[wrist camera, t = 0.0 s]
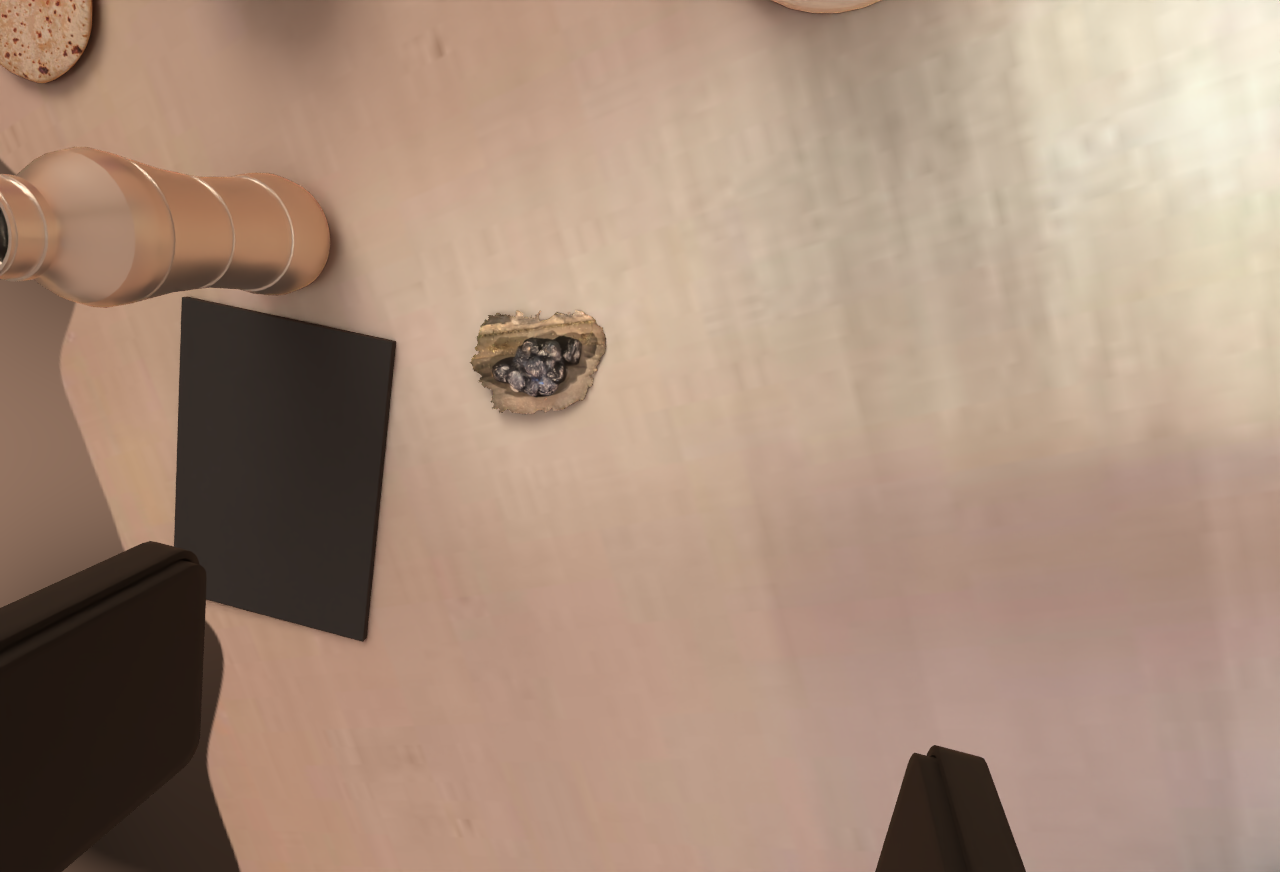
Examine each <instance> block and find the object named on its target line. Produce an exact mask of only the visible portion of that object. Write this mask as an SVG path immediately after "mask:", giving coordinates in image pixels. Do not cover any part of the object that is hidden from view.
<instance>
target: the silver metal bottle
mask: <svg viewBox="0 0 1280 872" xmlns="http://www.w3.org/2000/svg"><path fill="white" fill-rule="evenodd" d="M329 249H330V232H329V227H328V223H327V220H326V217H325V215H324V212H323V210H322V208H321V207H320V205H319V203H318V202H317V200H316V199H315V198H314V197H313V196H312V195H311V194H310V193H309V192H308V191H307V190H306V189H304V188H303V187H302V186H300V185H298V184H296V183H294V182H292V181H290V180H287V179H285V178H283V177H281V176H278V175H274V174H270V173H248V174H240V175H236V176H231V177H197V176H192V175H188V174H181V173H178V172H173V171H168V170H163V169H158V168H155V167H152V166H149V165H146V164H143V163H140V162H137V161H134V160H131V159H128V158H125V157H122V156H119V155H116V154H113V153H109V152H105V151H101V150H96V149H92V148H88V147H72V148H68V149H63V150H59V151H54V152H50V153H46V154H44V155H42V156H40V157H38V158H36V159H35V160H33V161H32V162H31V163H30V164H29V165H27V166H26V167H25V168H24V169H23V170H21V171H20V172H19V173H18V174H17V175H16V176H14V175H8V174H0V279H4V280H7V281H27V280H31V279H33V280H34V281H36V282H37V283H38V284H40V285H42V286H43V287H45V288H47V289H48V290H49V291H51V292H53V293H55V294H56V295H58V296H60V297H62V298H64V299H67V300H70V301H74V302H77V303H81V304H85V305H88V306H92V307H103V308H107V307H113V306H119V305H125V304H131V303H134V302H138V301H142V300H146V299H149V298H153V297H157V296H161V295H164V294H168V293H172V292H178V291H186V290H192V289H201V288H208V287H212V288H228V289H240V290H243V291H247V292H250V293H256V294H264V295H276V296H278V295H283V294H288V293H291V292H293V291H296V290H298V289H301V288H303V287H305V286H308V285H309V284H310V283H312V282H313V281H314V280H315V279H316V278H317V277H318V276H319V275H320V273H321V272H322V270H323V268H324V267H325V265H326V262H327V259H328V255H329Z"/></svg>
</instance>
